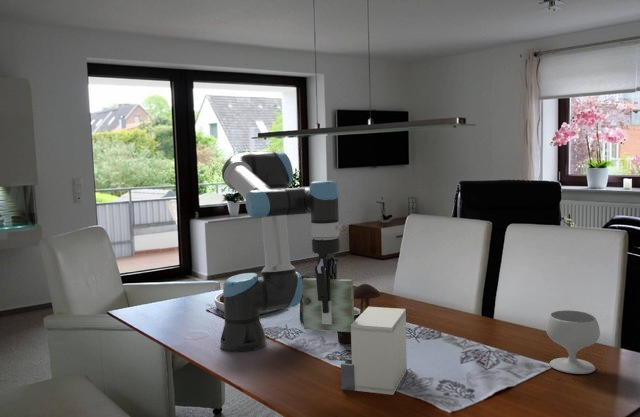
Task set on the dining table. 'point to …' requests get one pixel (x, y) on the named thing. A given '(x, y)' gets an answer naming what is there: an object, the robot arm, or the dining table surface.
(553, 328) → the chalice
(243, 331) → the robot arm
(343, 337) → the coffee mug
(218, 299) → the bowl
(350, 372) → the hinge clip
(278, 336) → the dining table surface
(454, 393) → the dining table surface
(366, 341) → the cabinet
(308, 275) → the coffee jar
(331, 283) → the cabinet door
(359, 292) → the decorative mushroom
